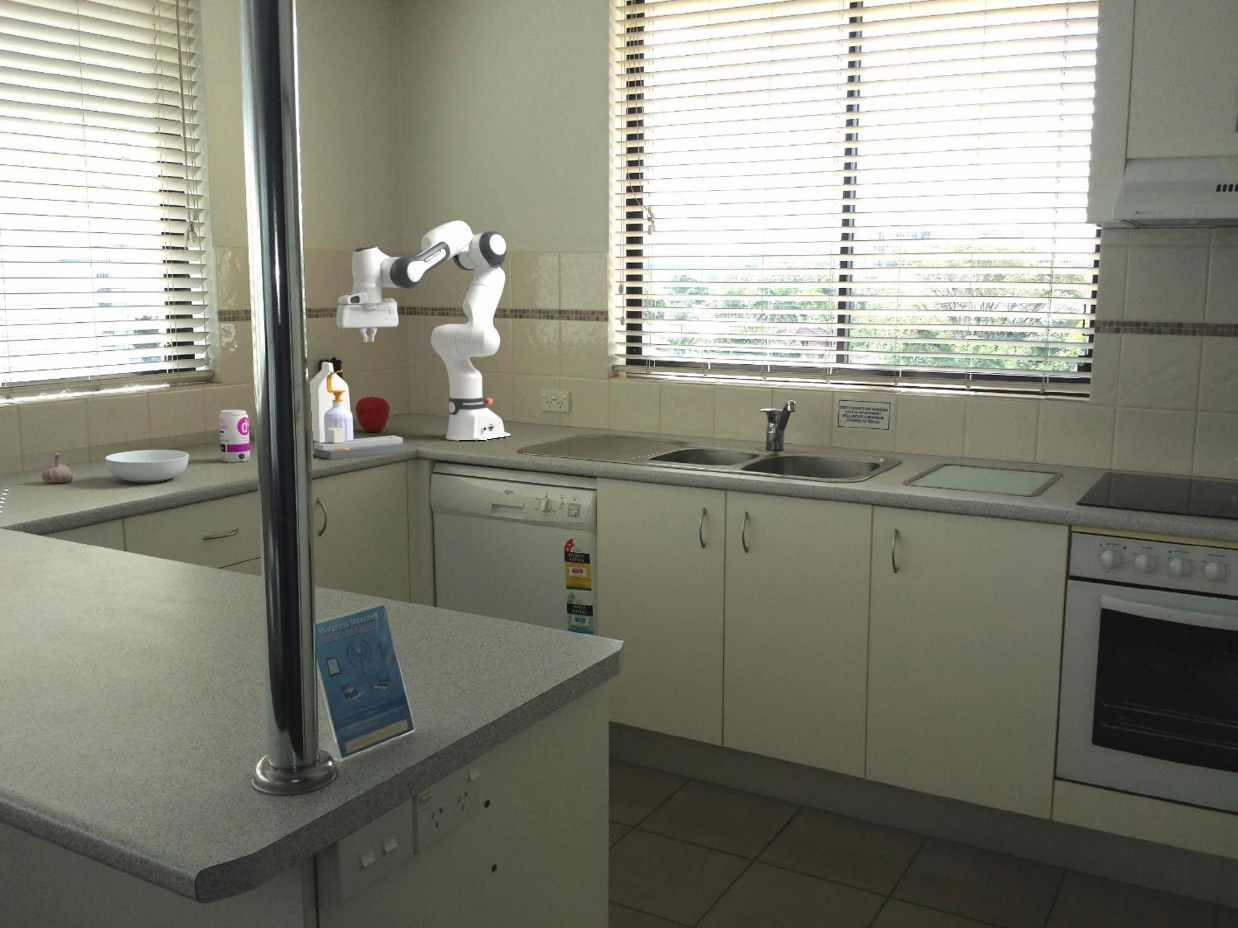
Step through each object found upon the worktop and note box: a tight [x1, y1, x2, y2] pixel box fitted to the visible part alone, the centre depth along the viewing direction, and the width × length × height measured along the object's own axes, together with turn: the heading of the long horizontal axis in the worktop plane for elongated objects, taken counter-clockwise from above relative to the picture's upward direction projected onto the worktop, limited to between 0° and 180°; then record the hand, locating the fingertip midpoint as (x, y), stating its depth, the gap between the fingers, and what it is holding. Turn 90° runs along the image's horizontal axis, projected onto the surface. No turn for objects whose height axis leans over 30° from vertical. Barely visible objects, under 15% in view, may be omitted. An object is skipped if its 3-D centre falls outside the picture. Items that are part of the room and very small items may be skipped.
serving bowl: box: [104, 449, 190, 484], centre depth 305 cm, size 21×21×7 cm
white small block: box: [327, 428, 344, 444], centre depth 349 cm, size 3×5×6 cm, turn 40°
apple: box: [354, 394, 391, 433], centre depth 403 cm, size 12×12×13 cm
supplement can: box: [218, 409, 251, 463], centre depth 338 cm, size 8×8×15 cm
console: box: [312, 435, 408, 460], centre depth 355 cm, size 27×14×4 cm, turn 130°
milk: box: [309, 361, 351, 443], centre depth 384 cm, size 12×12×26 cm
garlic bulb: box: [41, 453, 74, 484], centre depth 301 cm, size 8×7×8 cm
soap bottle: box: [324, 369, 354, 442], centre depth 370 cm, size 9×9×25 cm
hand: (368, 342), depth 360 cm, fingers closed
